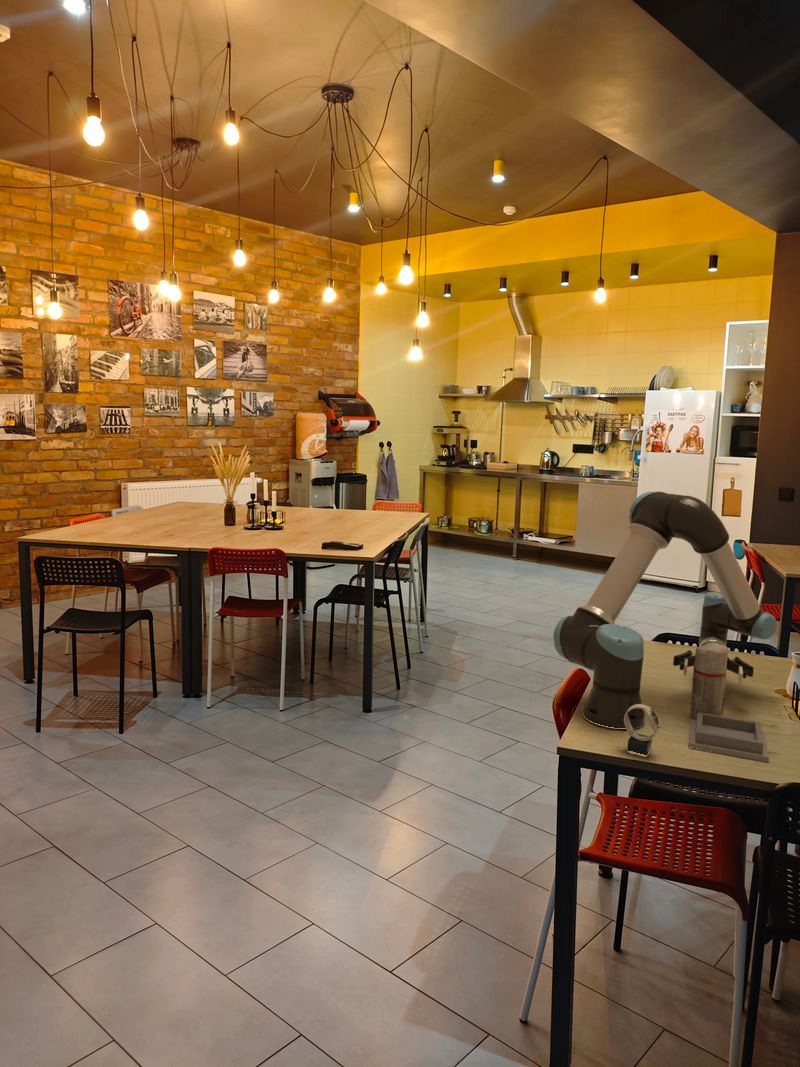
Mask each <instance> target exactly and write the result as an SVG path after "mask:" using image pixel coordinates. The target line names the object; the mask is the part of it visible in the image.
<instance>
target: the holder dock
mask: <svg viewBox="0 0 800 1067" xmlns="http://www.w3.org/2000/svg"><path fill="white" fill-rule="evenodd" d="M689 731H690V733H689V741H688V742H689V744H688V748H689V747H693V748H698V749H703V750H707V751H706V752H708V751H712V752H711V753H713V752H716V753H715V754H719V753H722V754H721V755H724V754H727V755H726V756H730V755H732V756H731V757H736V756H737V758H741V757H743V758H742V759H747V758H748V759H749V760H752V759H754V761H757V762H763V763H769V760H770V757H769V756H770V755H769V749H768V744H767V739H766V737H767V736H766V731H765V730H762V725H761V722H759V721H754V720H748V719H742V718H736V717H730V716H719V715H712V714H706V713H700V712H698V715H697V720H695V719H693V718H691V720H690V730H689Z"/></svg>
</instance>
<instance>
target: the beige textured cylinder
mask: <svg viewBox="0 0 800 1067" xmlns="http://www.w3.org/2000/svg"><path fill="white" fill-rule="evenodd" d="M729 652H730V651H729V648H728V647H727V645H726V646H724V645H721V644H718V643H716V642H710V643H707V644H706V645H704V646H701V647H699V646H697V647H696V648H695V653H694V654H695V662H694V666H693V669H692V670H693V674H692V688H691V689H692V690H691V702H690V711H689V712H690V717H691V719H695V720H697V715H698V712H700V713H706V714H712V715H719V716H723V715H724V706H725V696H726V694H725V691H726V684H727V683H726V680H727V670H726V668H727V658H729Z"/></svg>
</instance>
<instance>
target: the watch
mask: <svg viewBox="0 0 800 1067" xmlns="http://www.w3.org/2000/svg"><path fill="white" fill-rule="evenodd" d="M635 708H640V709H641V708H642V709H644V713H645V718H646V719H645V720H646V721H647V724H648V725H649V727H650V728H651V729H652V731H653V734H651V735H645V734H641V733H636V732H635V731H634V730H635V729H633V728H632V726H631V724H630V721H629V717H628V712H629V711H630V710H632V709H635ZM624 724H625V727H626V729H627V730H626V731H627V733H628V735H629V738H628V740H627V749H626V751H627V750H628V751H633V752H636V753H640V754H644V755H647V754H648V752H649V750H650V748H651V749H652V741H653V739H654V738H655V736H656V735H657V734H658V732H659V730H660V728H661V721H660V718H659V715H658V714H657V712H656V710H655V709H654V708H653V707H650V706H649V705H647V704H644V703H642V704H636V705H633V706H631V707H630V708H629V709H628V710H627V712H626V713H625V716H624ZM650 751H651V750H650ZM649 753H650V752H649ZM648 755H649V754H648Z"/></svg>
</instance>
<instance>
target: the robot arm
mask: <svg viewBox="0 0 800 1067" xmlns="http://www.w3.org/2000/svg"><path fill="white" fill-rule="evenodd" d="M628 513H629V514H630V515H629V516H628V520H629V525H628V530H629V535H628V537H627V539H626V540H625V542H624V544H623V545H622V547H621V548H620V550H619V551H618V553H617V555H616V556H615V558H614V559H613V561H612V563H611V564H610V566H609V568H608V569H607V571H606V572H605V574H604V576H603V577H602V579H601V581H600V582H599V584H598V586H597V587H596V588H595V590H594V592H593V594H592V595H591V597H590V598H589V599H588V602H587V603H586V604H585V605H580V606H578V607H577V608H576V610H575V611H574V613H573V615H567V616H565V617H562V618H561V619H560V620H559V621H558V622H557V624H556V625H555V628H554V630H553V638H552V639H553V642H554V643H553V645H554V649H555V650H556V652H557V654H558V655H560V656H561V657H562V658H563V659H565V660H568V662H570V663H573V664H577V665H578V666H581V667H584V668H585V669H588V670H591V671H593V677H592V688H591V689H590V692H589V694H588V696H587V699H586V701H585V704H584V706H583V713H582V714H584V716H585V718H587V719H588V720H590V721H592V722H594V723H597V724H600V725H604V726H608V727H614V728H626V727H625V724H624V716H625V713H626V712H627V710H628V709H629V708H630V707H631V706H633V705H636V704H643V700H642V698H641V692H640V691H641V683H642V675H643V674H642V673H643V664H644V657H645V656H644V655H645V649H644V646H645V643H644V637H643V636H642V635H641V634H640V633H639V632H638V631H636V630H635V629H632V628H631V627H627V626H625V625H624V626H623V625H620V624H615V622H616V620H617V618H618V616H619V615H620V613H621V612H622V610H623V609H624V607H625V605H626V604H627V602H628V600H629V599H630V597H631V595H633V592H634V591H635V589H636V587H637V586H638V584H639V582H640V580H641V579H642V577H643V576H644V574H645V572H646V571H647V569H648V568H649V566H650V564H651V563H652V561H654V560H653V559H654V558H655V556H656V554H657V553H658V551H659V550H663V549H666V548H668V546H669V545H670V543H671V541H672V539H673V538H675V539H679V540H680V539H681V540H684V541H685V542H687V543H688V544H690V546H691V548H692V549H693V551H694V552H695V553H697V554H699V555H701V558H702V559H703V561H704V563H705V566H706V567H707V569H708V571H709V573H710V574H711V577H712V578H713V580H714V581H713V582H715V584H716V586H717V588H718V590H719V592H714V591H712V592H710V591H709V592H707V593H705V594H704V599H703V604H702V610H701V612H702V613H701V622H700V624H701V625H700V631H699V632H700V633H699V638H698V645H699V646H698V647H701V646H704V645H706V644H707V643H710V642H716V643H718V644H721V645H724V646H726V647H727V644H728V643H727V641H728V631H733V632H735V633H739V634H741V635H745V636H747V637H750V638H754V639H755V638H756V639H759V640H768V639H770V638H772V636H773V635H774V634H775V632H776V630H777V619H776V617H775V616H774V615H773V614H770V613H769V612H767V611H763V610H762V608H761V605H760V604H759V602H758V599H757V598H756V595H755V594H754V592H753V589H752V587H751V585H750V583H749V581H748V579H747V577H746V575H745V573H744V572H743V570H742V568H741V565H740V564H739V562H738V560H737V557H736V555H735V554H734V551H733V550H732V547H731V545H730V543H729V541H730V535H729V532H728V530H727V529H726V527H725V524H724V523H723V522H722V520H721V519H720V517H719V516H718V515H717V514H716V512H715V511H714V510H713V509H712V508H711V507H710V506H709V505H708V504H706V502H704V501H703V500H701V499H699V498H697V497H694V496H691V495H684V494H675V493H667V492H663V491H647V492H644V493H642V494H640V495H638V497H636V498H634V500H633V502H632V504H631V506H630V508H629V511H628ZM672 660H673V661H672V665H673V666H675V667H677V666H679V670H680V671H683V674H682V675H683V676H687V673H688V668H689V667H694V662H695V653H694V652H692V650H691V649H690V650H687V651H685V652H682V653H679V654H676V655H674V656H673V659H672ZM726 671H730V672H732V673H734V674H736V675H738V676H737V678H738V679H737V680H738V684H741V685H742V684H743V679H747V677H750V678H753V677H754V671H755V667H753V666H752V665H750V664H748V662H745V661H743V660H742V659H741V658H740V657H738V656H735V657H733V658H729V657H728V658H727V668H726ZM584 716H583V717H584ZM628 717H629V721H630V724H631V726H632V728H637V727H640V726H642V725H643V724H644V725H645V720H646V719H645V718H646V714H645V712H644V709H642V708H641V709H640V708H635V709H632V710H630V711H629V712H628ZM585 718H584V719H585ZM644 725H643V726H644ZM643 726H642V727H643ZM640 728H641V727H640ZM637 729H638V728H637Z"/></svg>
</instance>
